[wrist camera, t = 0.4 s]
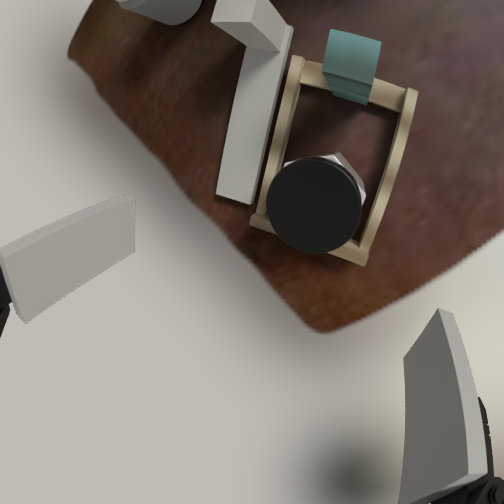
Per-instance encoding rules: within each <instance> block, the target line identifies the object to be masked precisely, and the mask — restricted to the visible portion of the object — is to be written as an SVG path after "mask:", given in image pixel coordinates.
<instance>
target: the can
mask: <svg viewBox="0 0 504 504" xmlns="http://www.w3.org/2000/svg"><path fill="white" fill-rule="evenodd" d="M116 1H117V2H119V4H120V6H121V7H122V8H123V9H126V10H129V11H132V12H135V13H138V14H141V15H144V16H146V17H149V18H152V19H154V20H157V21H159V22H162V23H164V24H167V25H178V24H181V23H183V22H185V21H187V20H188V19H190V18H191V17H192V16H193V15H194V14H195V13H196V12H197V10H198V9H199V7H200V5H201V1H202V0H116Z"/></svg>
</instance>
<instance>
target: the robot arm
mask: <svg viewBox="0 0 504 504" xmlns="http://www.w3.org/2000/svg"><path fill="white" fill-rule="evenodd" d="M135 204H136V199H135V198H133V197H131V196H127V195H125V194H124V195H121V196H118V197H115V198H113V199H110V200H107V201H104V202H102V203H99V204H97V205H94V206H91V207H89V208H86V209H84V210H81V211H79V212H76V213H74V214H72V215H69V216H67V217H65V218H62V219H60V220H57V221H56V222H53V223H51V224H49V225H46V226H44V227H42V228H40V229H38V230H35V231H33V232H31V233H29V234H27V235H25V236H23V237H21V238H19V239H17V240H15V241H13V242H11V243H9V244H7V245H5V246H3V247H1V248H0V337H1V334H2V332H3V329H4V326H5V323H6V321H7V318H8V316H9V312H10V307H9V303H11V302H12V303H13V305H14V308H15V311H16V313H17V315H18V316H19V317H20V318H21V320H22V321H23V322H24V323H25V324H27V323H28V322H29V321H31V320H32V319H33V318H35V317H36V316H37V315H39V314H40V313H42V312H43V311H45V310H46V309H48V308H49V307H50V306H51V305H53V304H55V303H56V302H58V301H59V300H61V299H62V298H63V297H65V296H66V295H68V294H69V293H71V292H72V291H73V290H75V289H77V288H78V287H80V286H81V285H83V284H84V283H86V282H88V281H89V280H91V279H92V278H94V277H95V276H97V275H98V274H100V273H102V272H103V271H105V270H106V269H108V268H109V267H111V266H113V265H114V264H116V263H117V262H119V261H121V260H122V259H124V258H125V257H127V256H129V255H130V254H132V253H134V252H135ZM403 359H404V374H405V442H404V457H403V469H402V478H401V486H400V494H399V500H398V504H428V503H431V504H504V480H503V479H501V478H500V477H494V470H493V457H492V447H491V439H490V436H489V434H490V431H489V426H488V425H487V424H488V419H487V414H486V409H485V407H484V405H483V403H482V401H481V399H480V397H477V392H476V388H475V384H474V379H473V376H472V372H471V368H470V365H469V361H468V358H467V354H466V351H465V348H464V345H463V342H462V339H461V335H460V333H459V330H458V327H457V324H456V322H455V319H454V316H453V314H452V313H450V312H448V311H445V310H443V309H440V308H438V309H437V310H436V312H435V314H434V315H433V317H432V319H431V320H430V321H429V323H428V324H427V326H426V327H425V329H424V330H423V332H422V333H421V335H420V336H419V337H418V339H417V340H416V342H415V343H414V344H413V346H412V347H411V349H410V350H409V351H408V353H407V354H406V355H405V357H404V358H403Z"/></svg>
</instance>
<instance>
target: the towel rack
mask: <svg viewBox="0 0 504 504" xmlns="http://www.w3.org/2000/svg"><path fill="white" fill-rule="evenodd" d="M380 47H381V42H380V41H376V40H373V39H370V38H366V37H363V36H359V35H355V34H351V33H347V32H343V31H338V30H334V29H330V34H329V38H328V43H327V47H326V52H325V56H324V60H323V64H321V63H317V62H312V61H307V60H305V59H304V58H303V57H301V56H295V55H292V59H291V64H290V68H289V72H288V76H287V80H286V85H285V89H284V93H283V97H282V102H281V106H280V110H279V114H278V119H277V123H276V127H275V132H274V136H273V140H272V144H271V149H270V153H269V157H268V162H267V166H266V170H265V175H264V179H263V183H262V188H261V192H260V196H259V201H258V205H257V210H256V213H254V214H253V215H252V216H251V219H250V223H249V225H251V226H254V227H256V228H259V229H262V230H265V231H268V232H271V233H274V234H276V232H275V231H274V229H273V228H272V226H271V224H270V221H269V219H268V215H267V210H266V197H267V192H268V189H269V186H270V184H271V182H272V180H273V178H274V177H275V176H276V174H277V173H278V172H279V171H280V170H281V167H282V163H283V159H284V155H285V151H286V146H287V142H288V138H289V134H290V130H291V126H292V122H293V117H294V113H295V109H296V105H297V101H298V97H299V92H300V88H301V84H304V85H309V86H313V87H317V88H321V89H325V90H329V91H331V92H332V94H333V96H337V97H340V98H344V99H347V100H351V101H354V102H357V103H360V104H363V105H367V102H370V103H373V104H376V105H378V106H381V107H384V108H387V109H389V110H392V111H395V112H397V113H400V114H399V118H398V122H397V126H396V130H395V133H394V137H393V141H392V145H391V148H390V152H389V155H388V158H387V162H386V165H385V168H384V172H383V175H382V178H381V181H380V184H379V187H378V190H377V193H376V196H375V199H374V202H373V205H372V208H371V211H370V214H369V216H368V219H367V222H366V225H365V227H364V230H363V233H362V235H361V238H360V241H356V240H353V239H350V240H349V241H348V242H347V243H345V244H344V245H343V246H341V247H340V248H338V249H336V250H333V251H330V252H327V253H330V254H332V255H335V256H338V257H340V258H343V259H346V260H348V261H351V262H354V263H356V264H359V265H362V266H364V267H365V265H366V262H367V260H368V258H369V257H368V251H369V249H370V247H371V244H372V242H373V239H374V237H375V234H376V231H377V229H378V226H379V224H380V221H381V218H382V216H383V213H384V210H385V207H386V205H387V202H388V199H389V196H390V193H391V190H392V187H393V184H394V181H395V178H396V175H397V172H398V168H399V165H400V162H401V158H402V155H403V152H404V148H405V144H406V141H407V137H408V133H409V129H410V126H411V121H412V117H413V113H414V109H415V104H416V100H417V95H418V91H416V90H414V89H411V88H409V87H408V88H407V89H404V88H401V87H398V86H396V85H393V84H390V83H387V82H385V81H382V80H379V79H376V78H374V77H375V72H376V67H377V62H378V57H379V52H380Z"/></svg>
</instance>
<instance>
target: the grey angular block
mask: <svg viewBox="0 0 504 504" xmlns="http://www.w3.org/2000/svg"><path fill="white" fill-rule="evenodd" d="M211 22H212V23H213V24H215V25H216V26H218V27H219V28H221V29H222V30H224V31H225V32H227V33H228V34H230V35H231V36H233V37H234V38H236V39H237V40H239V41H240V42H241V43H243V44H244V45H246V46H247V47H246V51H245V55H244V59H243V63H242V67H241V72H240V76H239V80H238V85H237V89H236V93H235V98H234V103H233V107H232V112H231V117H230V121H229V126H228V131H227V136H226V141H225V146H224V152H223V157H222V162H221V168H220V173H219V179H218V184H217V190H216V194H217V195H221V196H224V197H227V198H230V199H234V200H237V201H240V202H243V203H246V204H249V205H251V204H252V203H253V202H254V198H255V194H256V189H257V185H258V180H259V176H260V171H261V167H262V162H263V158H264V154H265V149H266V145H267V141H268V136H269V132H270V128H271V123H272V119H273V115H274V110H275V106H276V102H277V97H278V93H279V89H280V85H281V80H282V76H283V72H284V68H285V64H286V59H287V55H288V51H289V47H290V43H291V39H292V34H293V30H294V29H293V27H292V26H289V25H287V24H286V23H285V21H284V20H283V18H282V17H281V16H280V14H279V13H278V12H277V10H276V9H275V8H274V6H273V5H272V4H271V2H270V1H269V0H217V2H216V5H215V9H214V12H213V15H212V19H211Z"/></svg>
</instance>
